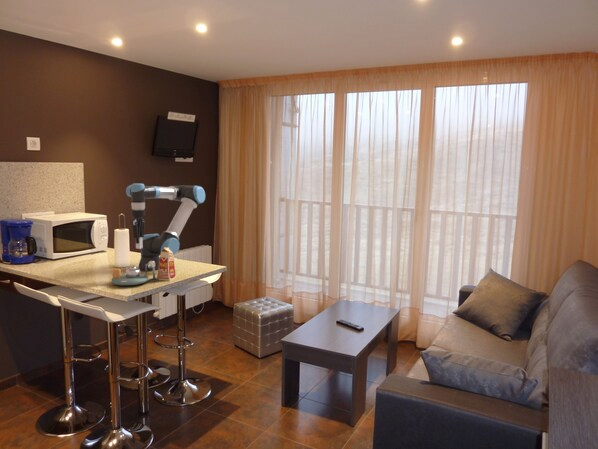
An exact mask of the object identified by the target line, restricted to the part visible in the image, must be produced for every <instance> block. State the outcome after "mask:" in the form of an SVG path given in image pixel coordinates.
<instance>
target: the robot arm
mask: <svg viewBox="0 0 598 449" xmlns="http://www.w3.org/2000/svg"><path fill="white" fill-rule="evenodd" d="M125 194H126V196H128V197H129V198H131V204H130V205H131V216H132V217H133V221H131V225H132V233H133V234H132V235H133V238H134V239H135V249H138V250H140V260H139V263H138V266H137V268H138V269H140V271H142V272H146V269H147V272H153V268H152V269H151V268H149V267H148V262H150V261H155V264H156V266H155V271H158V267H159V261H160V255H161V251H162V250H163V249H164V247H166V248H168V247H169V249H170V250H171V251H172V252H173V256H174V255H176V254H177V253H178V252H179V250H180V235H181V233H182V231H183V229H184V228H185V226H186V223H187V222H188V219H189V218H190V216H191V214H192V213H193V210H194V209H197V207H198V206H199V204H203V203H204V202H205V200H206V192H205V190H204V188H203V187H202V186H200V185H186V184H184V185H170V186H155V185H152V186H151V185H145V184H144V183H140V182H139V183H132V184H130V185H128V186H127V187H126V188H125ZM146 199H147V200H150V199H154V200H155V199H168V200H170V201H178V202H181V204H180V206H179V207H178V209H177V211H176V213H175V215H174V216H173V218H172V220H171V222H170V224H169V225H168V227H167V229H166V230H165V231H163V232H162V233H161V234H159V233H149V234H145V223H146V219H144V217H145V216H146V210H145V209H146Z"/></svg>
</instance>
